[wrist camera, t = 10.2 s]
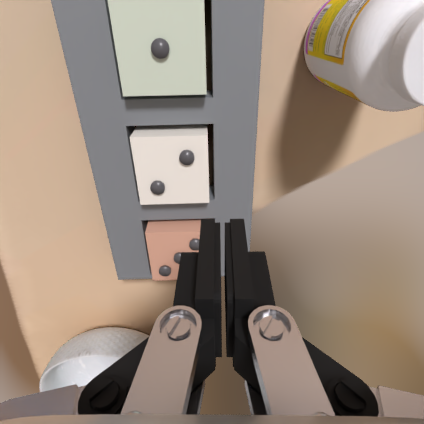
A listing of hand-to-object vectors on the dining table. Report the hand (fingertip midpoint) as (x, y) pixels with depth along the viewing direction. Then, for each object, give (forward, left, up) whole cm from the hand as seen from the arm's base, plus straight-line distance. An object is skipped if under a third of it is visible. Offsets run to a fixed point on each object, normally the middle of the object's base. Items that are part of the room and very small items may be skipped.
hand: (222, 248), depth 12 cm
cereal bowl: (+13, +32, -18) cm, 39 cm away
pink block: (+3, +12, -18) cm, 21 cm away
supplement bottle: (-11, -6, -18) cm, 22 cm away
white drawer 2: (+3, +3, -18) cm, 18 cm away
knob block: (+3, -6, -18) cm, 19 cm away
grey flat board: (+3, +3, -18) cm, 18 cm away
